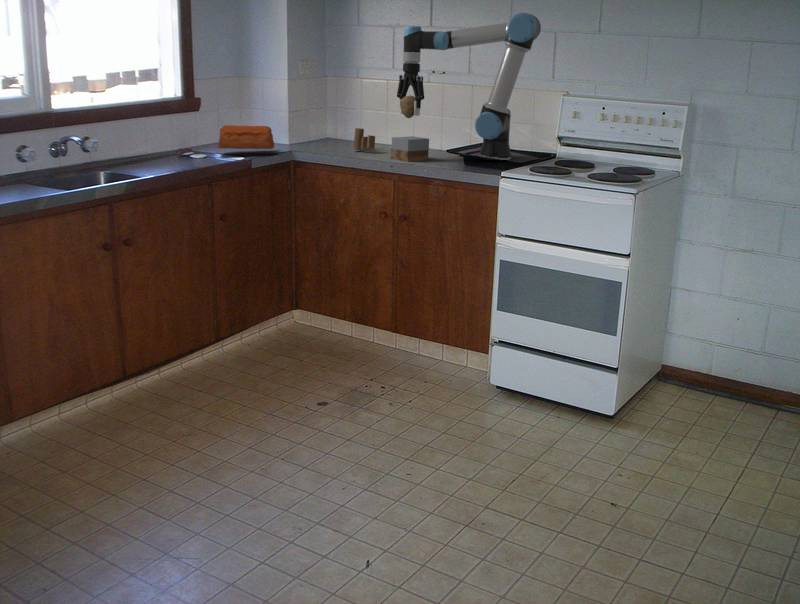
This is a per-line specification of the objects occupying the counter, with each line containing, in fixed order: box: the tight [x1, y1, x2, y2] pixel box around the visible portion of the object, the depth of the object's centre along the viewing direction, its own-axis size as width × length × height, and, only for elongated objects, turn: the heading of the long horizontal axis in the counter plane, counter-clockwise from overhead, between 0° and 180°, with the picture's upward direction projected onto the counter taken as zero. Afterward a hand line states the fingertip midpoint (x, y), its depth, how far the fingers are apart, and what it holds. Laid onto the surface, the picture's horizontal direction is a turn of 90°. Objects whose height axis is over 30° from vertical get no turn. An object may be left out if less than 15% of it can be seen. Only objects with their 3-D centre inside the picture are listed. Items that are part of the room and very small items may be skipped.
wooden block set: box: [353, 127, 376, 151], centre depth 429 cm, size 18×9×10 cm, turn 20°
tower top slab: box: [391, 135, 430, 151], centre depth 397 cm, size 12×12×5 cm
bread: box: [217, 124, 275, 150], centre depth 429 cm, size 16×27×11 cm, turn 96°
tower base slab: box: [390, 148, 429, 163], centre depth 398 cm, size 12×12×5 cm
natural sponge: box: [399, 95, 416, 119], centre depth 393 cm, size 9×9×10 cm
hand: (409, 114), depth 394 cm, fingers closed on natural sponge, 9 cm apart
